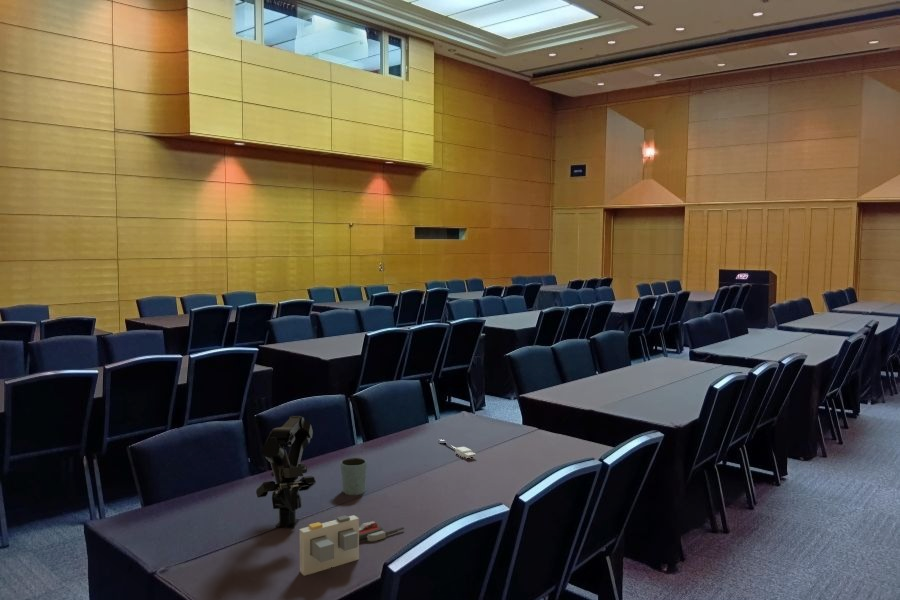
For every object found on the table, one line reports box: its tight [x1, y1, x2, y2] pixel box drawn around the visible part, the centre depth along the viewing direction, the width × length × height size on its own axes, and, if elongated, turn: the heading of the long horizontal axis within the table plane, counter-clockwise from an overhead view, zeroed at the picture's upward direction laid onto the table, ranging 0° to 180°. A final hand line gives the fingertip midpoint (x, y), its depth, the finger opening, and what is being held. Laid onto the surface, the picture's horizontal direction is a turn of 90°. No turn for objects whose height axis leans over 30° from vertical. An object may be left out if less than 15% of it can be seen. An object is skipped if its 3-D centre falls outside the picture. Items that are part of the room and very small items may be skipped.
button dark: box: [338, 529, 358, 551], centre depth 204 cm, size 9×4×4 cm, turn 36°
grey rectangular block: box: [310, 536, 334, 562], centre depth 196 cm, size 9×4×4 cm, turn 36°
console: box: [299, 514, 360, 577], centre depth 202 cm, size 3×18×14 cm, turn 126°
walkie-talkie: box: [359, 520, 405, 544], centre depth 223 cm, size 9×4×20 cm
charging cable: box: [439, 439, 477, 459], centre depth 317 cm, size 5×32×3 cm, turn 28°
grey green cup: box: [340, 457, 367, 496], centre depth 263 cm, size 10×10×12 cm
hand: (293, 511), depth 211 cm, fingers closed
